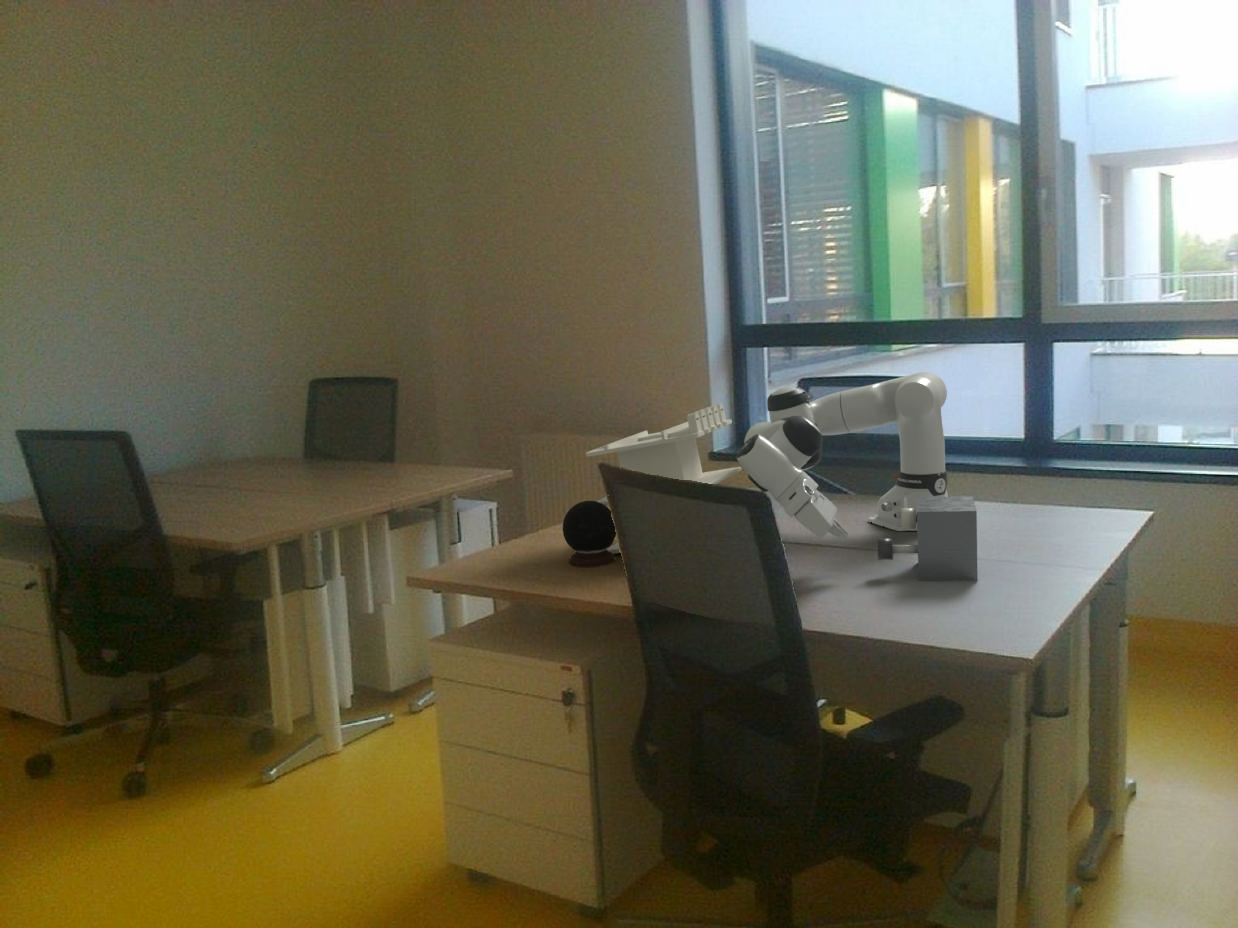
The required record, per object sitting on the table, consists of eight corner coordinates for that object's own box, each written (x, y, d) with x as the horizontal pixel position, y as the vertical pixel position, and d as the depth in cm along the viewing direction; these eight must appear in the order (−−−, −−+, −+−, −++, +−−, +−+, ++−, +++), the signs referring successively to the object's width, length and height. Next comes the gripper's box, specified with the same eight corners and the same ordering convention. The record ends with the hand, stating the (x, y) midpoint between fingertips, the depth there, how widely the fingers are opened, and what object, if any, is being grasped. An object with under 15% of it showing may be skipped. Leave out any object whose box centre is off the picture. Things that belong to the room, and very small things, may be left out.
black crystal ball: (568, 570, 274) (563, 508, 272) (562, 558, 287) (557, 498, 285) (623, 565, 276) (619, 503, 274) (614, 553, 289) (610, 494, 287)
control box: (918, 580, 246) (916, 511, 244) (918, 562, 262) (916, 497, 259) (977, 581, 243) (976, 511, 241) (973, 562, 259) (972, 496, 256)
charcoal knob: (878, 561, 249) (877, 541, 249) (878, 556, 254) (878, 536, 253) (926, 561, 247) (925, 540, 246) (926, 556, 251) (925, 536, 251)
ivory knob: (902, 530, 255) (901, 510, 254) (902, 526, 259) (901, 506, 259) (949, 530, 253) (948, 509, 252) (948, 526, 257) (948, 505, 256)
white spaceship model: (722, 558, 275) (692, 414, 272) (606, 573, 288) (576, 435, 285) (755, 533, 299) (728, 401, 296) (647, 548, 312) (620, 421, 309)
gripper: (793, 495, 264) (838, 537, 263) (784, 514, 244) (832, 559, 244) (813, 476, 262) (858, 518, 261) (805, 493, 243) (853, 538, 242)
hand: (845, 538), depth 252 cm, fingers closed
